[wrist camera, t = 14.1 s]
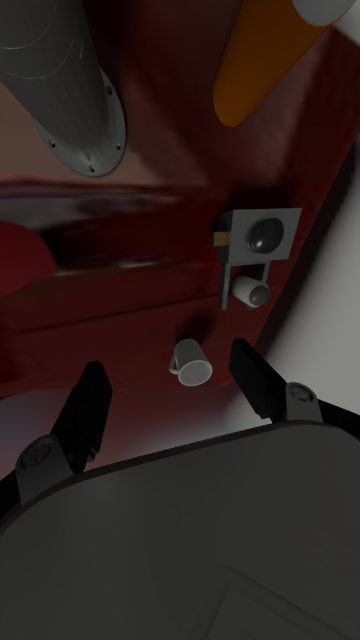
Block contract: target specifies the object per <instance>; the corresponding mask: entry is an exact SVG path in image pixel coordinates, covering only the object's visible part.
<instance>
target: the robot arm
mask: <svg viewBox="0 0 360 640" xmlns="http://www.w3.org/2000/svg"><path fill="white" fill-rule="evenodd" d="M0 82H1V83H2V84H3V85H4V86H5V87H6V88H7V89H8V90H9V91H10V92H11V93H12V95H13V96H14V97H15V98H16V99H17V100H18V101H19V102H20V103H21V104H22V105H23V106H24V107H25V109H26V110H27V111H28V112H29V113H30V114H31V116H32V118H33V121H34V123H35V126H36V128H37V130H38V132H39V134H40V135H41V137H42V139H43V141H44V142H45V143H46V145H47V146H48V148H49V149H50V150H51V151H52V153H53V154H54V155H55V156H56V157H57V158H58V159H59V160H60V161H61V162H62V163H63V164H65V165H66V166H67V167H69V168H70V169H71V170H73V171H75V172H77V173H79V174H81V175H84V176H87V177H95V178H98V177H103V176H106V175H108V174H110V173H111V172H112V171H114V170H115V169H116V168H117V166H118V165H119V164H120V162H121V160H122V157H123V155H124V151H125V146H126V126H125V120H124V115H123V111H122V107H121V104H120V101H119V98H118V96H117V93H116V91H115V89H114V87H113V85H112V83H111V82H110V80H109V78H108V77H107V75H106V74H105V73H104V71H103V70H102V68H101V67H100V66H99V63H98V59H97V56H96V52H95V49H94V45H93V41H92V38H91V34H90V30H89V27H88V23H87V20H86V16H85V12H84V9H83V5H82V1H81V0H0ZM109 94H112V95H109ZM54 145H55V148H54V147H53V146H54ZM118 147H120V148H121V149H120V150H118ZM93 169H94V170H95V172H94V173H93V172H92V170H93ZM229 371H230V373H231V375H232V376H233V378H234V379H235V381H236V382H237V384H238V386H239V387H240V389H241V391H242V392H243V394H244V395H245V397H246V399H247V400H248V402H249V403H250V405H251V407H252V408H253V410H254V411H255V413H256V414H258V415H259V416H260V417H261V419H265V418H270V419H271V421H272V424H267V425H263V426H259V427H255V428H251V429H246V430H243V431H238V432H234V433H230V434H226V435H222V436H218V437H214V438H210V439H206V440H202V441H198V442H194V443H190V444H186V445H182V446H178V447H174V448H170V449H166V450H162V451H159V452H155V453H151V454H147V455H143V456H139V457H135V458H132V459H128V460H124V461H120V462H116V463H113V464H109V465H106V466H102V467H98V468H95V469H91V470H89V471H86V472H84V471H83V470H84V469H85V466H86V463H87V462H91V461H94V459H95V455H96V453H98V452H99V450H100V446H101V441H102V437H103V433H104V428H105V424H106V420H107V415H108V411H109V406H110V402H111V397H112V387H111V385H110V382H109V380H108V377H107V374H106V372H105V369H104V367H103V364H102V363H101V362H100V363H99V361H92V362H88V363H87V365H86V367H85V369H84V371H83V373H82V375H81V377H80V379H79V381H78V383H77V385H75V386H74V387H73V389H72V391H71V393H70V395H69V397H68V399H67V400H66V403H65V405H64V407H63V408H62V411H61V412H60V414H59V416H58V418H57V420H56V422H55V424H54V426H53V428H52V430H51V432H50V434H46V435H43V436H41V437H39V438H37V439H36V440H34V441H33V442H32V443H30V444H29V445H28V446H27V447H26V448H25V449H24V451H23V452H22V453H21V455H20V456H19V458H18V460H17V462H16V465H15V469H14V470H13V471H12V472H11V473H9V474H8V475H7V476H6V477H5V478H3V479H2V480H1V481H0V640H360V415H358V414H356V413H353V412H350V411H348V410H345V409H343V408H340V407H338V406H335V405H332V404H330V403H327V402H325V401H322V400H319V399H317V397H316V395H315V394H314V392H313V391H312V390H311V389H310V388H308V387H307V386H305V385H302V384H300V383H296V382H290V383H288V384H287V383H286V381H285V380H284V379H283V378H282V377H281V376H280V375H279V374H278V373H277V372H276V371H275V370H274V369H273V368H272V367H271V366H270V365H269V364H268V363H267V362H266V361H265V360H264V359H263V358H262V357H261V356H260V355H259V353H258V352H257V351H256V350H255V349H254V348H253V347H252V346H251V345H250V344H249V343H248V342H247V341H246V340H245V339H244V338H239V339H235V340H234V341H233V342H232V348H231V355H230V362H229Z"/></svg>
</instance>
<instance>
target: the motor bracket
mask: <svg viewBox="0 0 360 640" xmlns="http://www.w3.org/2000/svg"><path fill="white" fill-rule="evenodd" d="M301 210H302V208H287V209H246V210H232V211H229V212H226V213H223V214H220V215H219V229H218V232H213V233H210V244H209V246H217V260H218V261H221V273H220V286H219V298H218V307H219V308H220V309H221V310H226V304H227V295H228V286H229V277H230V267H231V266H239V265H251V264H258V270H257V275H256V280H257V281H260V282H263V283H266V279H267V275H268V270H269V266H270V261H271V260H279V259H288V257H289V253H290V250H291V246H292V243H293V239H294V235H295V232H296V228H297V224H298V221H299V217H300V213H301Z"/></svg>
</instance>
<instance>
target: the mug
mask: <svg viewBox="0 0 360 640" xmlns="http://www.w3.org/2000/svg"><path fill="white" fill-rule="evenodd" d="M175 359H176V364H177V370H175V369H173V364H174V360H175ZM169 369H170V371H171V372H172V373H174V374H178V378H179V381H180V382H181V383H182V384H184V385H187V386H196V385H199V384H202V383H204V382H205V381H206V380H208V378H209V377H210V376H211V374H212V366H211V365H210V363H209V361H208V360H207V358H206V357H205V355H204V353H203V351H202V349H201V347H200V346H199V344H198V342H197V341H196V340H194V339H192V338H185V339H182V340H180V341H179V342H178V343H177V344H176V345H175V347H174V355H173V357H172V360H171V363H170V366H169Z"/></svg>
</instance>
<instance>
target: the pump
mask: <svg viewBox="0 0 360 640" xmlns="http://www.w3.org/2000/svg"><path fill="white" fill-rule="evenodd" d="M229 290H230V293H231V294H232V295H234V296H235V297H237V298H238V299H240V300H242V301H243V302H244V308H245V309H247V310H251V309H253V307H258V306H260V305H262V304H264V303H265V302H266V301H267V300H268V298H269V295H270V289H269V286H268V285H267V284H265V283H263V282H260V281H257V280H254V279H252V278H249V277H246V276H244V275H239V276H237V277H235V278H234V279H233V280H232V281H231V283H230V286H229Z"/></svg>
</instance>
